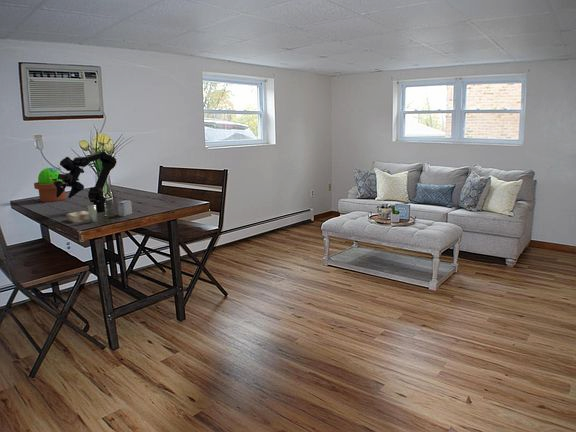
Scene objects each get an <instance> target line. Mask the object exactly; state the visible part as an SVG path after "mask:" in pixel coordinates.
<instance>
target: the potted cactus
mask: <svg viewBox="0 0 576 432" xmlns="http://www.w3.org/2000/svg"><path fill="white" fill-rule="evenodd" d="M58 174H61V172H60V171H59V170H57V169H56V168H55V167H46V168H43V169H42V170H41V171H40V172H39V173H38V177H37V180H38V181H36V182H33V186H34V189H35V190H38V195H39V201H40V202H42V203H43V202H44V203H52V202H60V200H61V201H64V200H66V199H67V194H66V188H65V189H64V191H63V193H62V194H61V195H60V196H59V197H58V198H57V197H56V194H57V188H56V186H55V185H54V184H53V183H54V181H61V182H63V181H62V180H60V179H58ZM63 183H65V182H63Z"/></svg>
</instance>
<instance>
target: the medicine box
mask: <svg viewBox="0 0 576 432" xmlns="http://www.w3.org/2000/svg"><path fill="white" fill-rule="evenodd" d="M132 205H133V203H132V200H128V199H127V200H126V199H125V200H122V201H119V202H117V209H118V211H117V212H118V217H126V216H129V215H132V214H133V207H132Z"/></svg>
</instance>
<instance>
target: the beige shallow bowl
mask: <svg viewBox="0 0 576 432" xmlns="http://www.w3.org/2000/svg"><path fill="white" fill-rule="evenodd" d="M66 220H67V221H69V222H71V223H73V224H76V223H82V222H86V221H88V222H89V214H88V210H87V211H86V210H81V211H74V212H70V213H66Z"/></svg>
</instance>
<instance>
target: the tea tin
mask: <svg viewBox="0 0 576 432" xmlns="http://www.w3.org/2000/svg"><path fill="white" fill-rule="evenodd" d="M86 207H87V212H88V214H89V220H88V222H89V224H95V223H98V222H99V220H98V212H97V210H96V205H93V204H87V206H86Z"/></svg>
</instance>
